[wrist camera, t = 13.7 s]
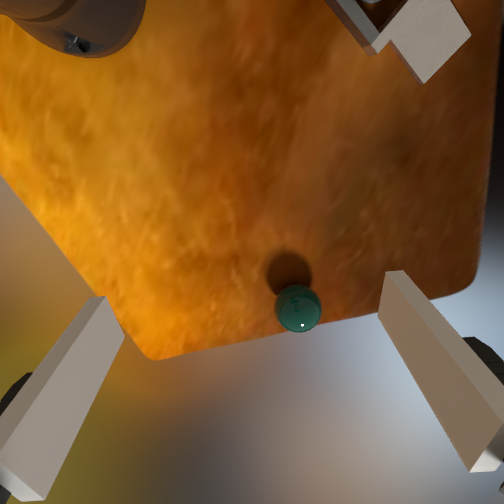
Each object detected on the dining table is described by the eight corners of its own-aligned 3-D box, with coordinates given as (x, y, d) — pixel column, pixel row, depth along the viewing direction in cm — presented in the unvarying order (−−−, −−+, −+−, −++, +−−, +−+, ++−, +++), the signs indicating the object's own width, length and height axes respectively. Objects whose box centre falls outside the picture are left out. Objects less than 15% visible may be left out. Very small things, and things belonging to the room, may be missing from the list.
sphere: (288, 267, 47) (296, 298, 40) (325, 286, 49) (338, 318, 42) (263, 299, 50) (266, 332, 43) (298, 315, 52) (306, 349, 46)
